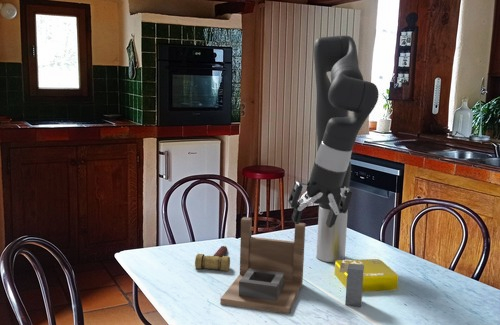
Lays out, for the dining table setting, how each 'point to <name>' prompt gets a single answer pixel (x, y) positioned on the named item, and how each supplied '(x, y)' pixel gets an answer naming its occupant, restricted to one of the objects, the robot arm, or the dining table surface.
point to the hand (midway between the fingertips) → (312, 224)
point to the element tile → (371, 275)
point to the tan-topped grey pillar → (353, 283)
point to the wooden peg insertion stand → (267, 271)
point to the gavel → (214, 260)
